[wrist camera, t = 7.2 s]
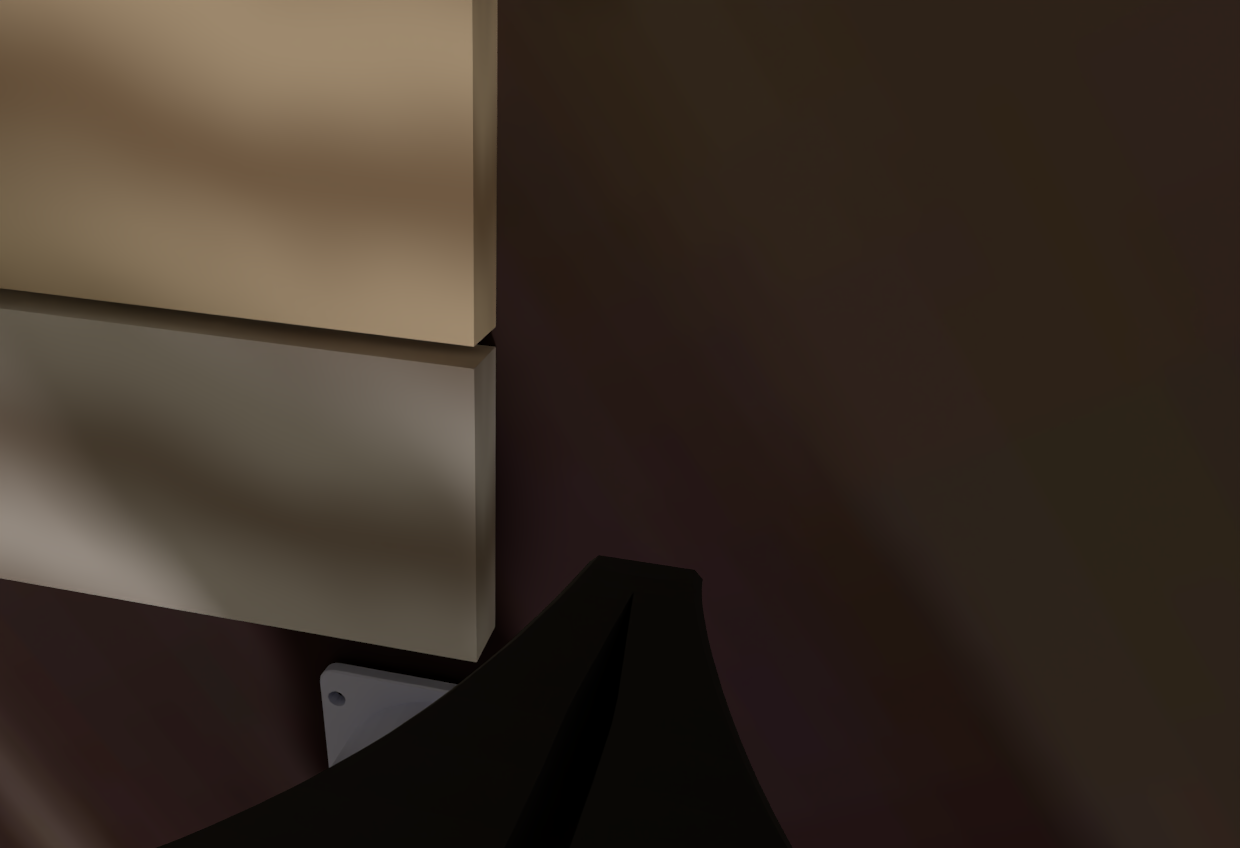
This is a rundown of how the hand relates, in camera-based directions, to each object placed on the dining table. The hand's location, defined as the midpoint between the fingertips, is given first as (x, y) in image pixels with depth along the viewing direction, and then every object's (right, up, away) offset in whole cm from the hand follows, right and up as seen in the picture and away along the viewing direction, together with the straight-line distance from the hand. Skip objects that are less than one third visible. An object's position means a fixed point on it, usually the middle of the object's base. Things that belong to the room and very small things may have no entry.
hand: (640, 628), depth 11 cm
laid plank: (-14, +2, +12) cm, 19 cm away
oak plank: (-14, +10, +9) cm, 19 cm away
